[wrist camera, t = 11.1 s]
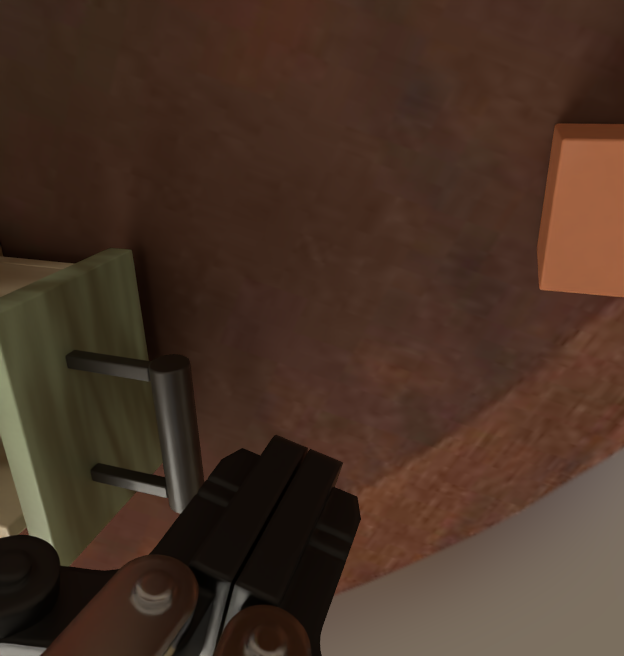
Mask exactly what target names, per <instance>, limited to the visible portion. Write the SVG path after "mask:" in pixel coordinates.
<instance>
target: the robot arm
mask: <svg viewBox="0 0 624 656" xmlns="http://www.w3.org/2000/svg"><path fill="white" fill-rule="evenodd" d="M307 452H308V453H307ZM342 464H343V462H341V461H338V460H336V459H333V458H331V457H329V456H326V455H324V454H321V453H319V452H317V451H314V450H312V449H310V450H309V451H308V448H307V447H304V446H302V445H299V444H297V443H295V442H292V441H290V440H287V439H285V438H283V437H280V436H278V435H275V436H274V437H273V438H272V439H271V441H270V442H269V444H268V445H267V447H266V448H265V450H264V451H263V453H262V454H261V456H260V455H257V454H255V453H253V452H250V451H248V450H246V449H243V448H242V449H240V450H238V451H236V452H234V453H233V454H231V455H229V456H227V457H225V458H223V459H222V460H221V461H220V463H219V464H218V465H217V466H216V468H215V469H214V470H213V472H212V473H211V474H210V476H209V478H208V480H206V481H205V482H204V484H203V485H202V486H201V488H200V489H199V490H198V493H197V494H196V495H195V496H194V497H193V498H192V500H191V501H190V502H189V504H188V505H187V506H186V507H185V509H184V510H183V511H182V513H181V514H180V515H179V517H178V518H177V519H176V521H175V522H174V523H173V525H172V526H171V527H170V529H169V530H168V531H167V533H166V534H165V535H164V537H163V538H162V539H161V541H160V542H159V543H158V545H157V546H156V547H155V548H154V549H153V551H152V552H151V553H150V554H149V555H146V556H142V557H138V558H136V559H134V560H132V561H130V562H128V563H127V564H125V565H124V566H122V567H121V568H120V569H117V570H107V571H101V570H91V569H83V568H76V567H68V566H61V565H60V559H59V556H58V553H57V551H56V550H55V549H54V547H53V546H52V545H51V544H49V543H48V542H47V541H45V540H43V539H41V538H38V537H35V536H30V535H12V536H7V537H2V538H0V656H322V655H321V651H320V635H321V631H322V627H323V624H324V621H325V618H326V615H327V613H328V610H329V607H330V604H331V602H332V599H333V596H334V593H335V590H336V587H337V585H338V582H339V579H340V576H341V573H342V571H343V568H344V565H345V562H346V559H347V557H348V554H349V551H350V548H351V545H352V542H353V540H354V537H355V534H356V531H357V528H358V526H359V523H360V520H361V517H360V510H359V504H358V498H357V496H354V495H352V494H350V493H347V492H345V491H343V490H340V489H338V488H335V485H336V482H337V479H338V476H339V473H340V470H341V467H342Z"/></svg>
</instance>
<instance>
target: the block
mask: <svg viewBox="0 0 624 656" xmlns="http://www.w3.org/2000/svg"><path fill="white" fill-rule="evenodd" d="M537 257H538V274H539V287H540V289H541V290H549V291H560V292H571V293H582V294H593V295H605V296H616V297H624V124H573V123H558V124H556V125H555V128H554V135H553V141H552V148H551V155H550V162H549V169H548V176H547V183H546V189H545V196H544V203H543V210H542V217H541V224H540V230H539V237H538V244H537Z"/></svg>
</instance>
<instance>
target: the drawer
mask: <svg viewBox="0 0 624 656" xmlns="http://www.w3.org/2000/svg"><path fill="white" fill-rule="evenodd" d="M162 463H163V466H164V473H165V477H161V476H157V475H152V474H153V473H154V472H155V471H156V470H157V468H158V467H159V466H160V465H161V464H162ZM203 484H204V475H203V467H202V458H201V450H200V442H199V433H198V425H197V416H196V408H195V400H194V391H193V383H192V374H191V366H190V361H189V359H188V358H187V357H185V356H182V355H175V354H173V355H165V356H161V357H158V358H156V359H154V360H153V361H149V359H148V353H147V346H146V340H145V333H144V326H143V320H142V313H141V307H140V300H139V293H138V287H137V280H136V274H135V267H134V261H133V254H132V250H129V249H117V248H109V249H107V250H104V251H102V252H100V253H98V254H95V255H93V256H91V257H89V258H86V259H84V260H82V261H80V262H78V263H75V264H73V263H63V262H53V261H43V260H33V259H22V258H12V257H2V256H0V538H2V537H7V536H12V535H19V534H20V533H21V532H22V531H23V530H24V529H25V528H26V527H27V529H28V533H29V535H30V536H35V537H38V538H41V539H43V540H45V541H47V542H48V543H49V544H51V545H52V546H53V547H54V549H55V550H56V551H57V553H58V556H59V559H60V565H61V566H68V567H69V566H70V565H71V564H72V562H73V561H74V560H75V559H76V558H77V557H78V556H79V555H80V554H81V553H82V551H83V550H84V549H85V548H86V547H87V546H88V545H89V544H90V543H91V541H92V540H93V539H94V538H95V537H96V536H97V535H98V534H99V533H100V532H101V530H102V529H103V528H104V527H105V526H106V525H107V524H108V523H109V522H110V520H111V519H112V518H113V517H114V516H115V515H116V514H117V513H118V512H119V510H120V509H121V508H122V507H123V506H124V505H125V504H126V503H127V502H128V501H129V499H130V498H131V497H132V496H133V495H134V494H135V493H136V492H137V491H138V492H143V493H147V494H151V495H156V496H160V497H164V498H168V499H169V505H170V507H171V509H172V510H173V511H175V512H177V513H182V511H183V510H184V509H185V507H186V506H187V505H188V504H189V502H190V501H191V500H192V498H193V497H194V496H195V495H196V494H197V493H198V490H199V489H200V488H201V486H202V485H203Z"/></svg>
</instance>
